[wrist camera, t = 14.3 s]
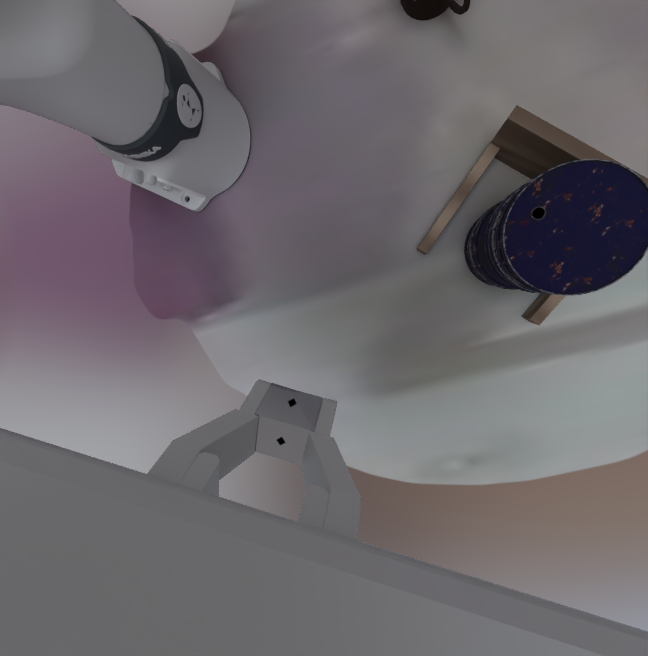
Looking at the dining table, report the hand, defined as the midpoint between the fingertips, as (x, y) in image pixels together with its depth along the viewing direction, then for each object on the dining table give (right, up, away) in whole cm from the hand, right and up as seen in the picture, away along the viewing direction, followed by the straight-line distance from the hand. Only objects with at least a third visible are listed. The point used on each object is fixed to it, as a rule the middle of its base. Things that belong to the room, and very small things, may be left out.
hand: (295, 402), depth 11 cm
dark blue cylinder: (+23, +13, +26) cm, 37 cm away
